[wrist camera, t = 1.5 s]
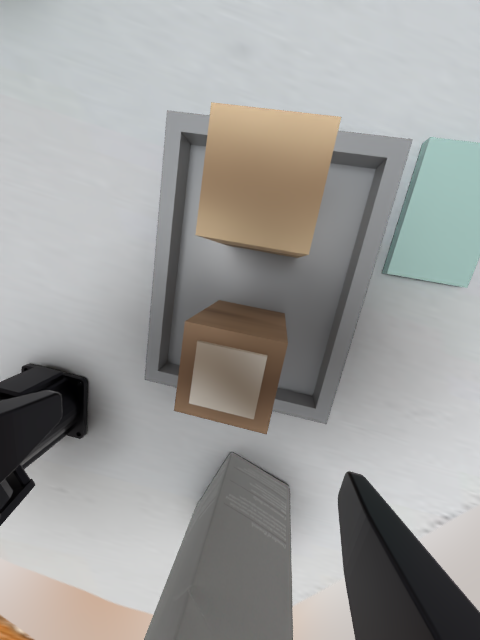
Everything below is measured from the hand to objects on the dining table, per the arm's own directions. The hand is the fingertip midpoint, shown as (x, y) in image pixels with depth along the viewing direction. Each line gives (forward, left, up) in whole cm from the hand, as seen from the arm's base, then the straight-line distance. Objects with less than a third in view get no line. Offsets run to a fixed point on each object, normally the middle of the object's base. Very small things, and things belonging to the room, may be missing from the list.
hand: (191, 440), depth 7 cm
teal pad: (+10, -11, -13) cm, 20 cm away
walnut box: (0, 0, -12) cm, 12 cm away
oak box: (+9, 0, -12) cm, 15 cm away
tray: (+4, 0, -13) cm, 13 cm away
